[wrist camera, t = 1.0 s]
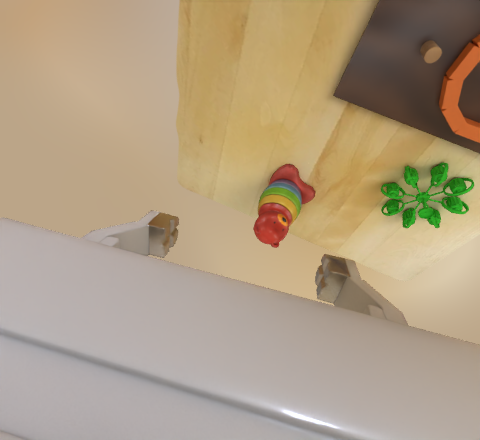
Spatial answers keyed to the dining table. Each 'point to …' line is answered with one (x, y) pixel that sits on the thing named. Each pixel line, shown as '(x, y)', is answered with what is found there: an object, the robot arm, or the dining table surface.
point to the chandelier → (427, 196)
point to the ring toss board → (415, 64)
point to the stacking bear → (281, 204)
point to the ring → (453, 90)
